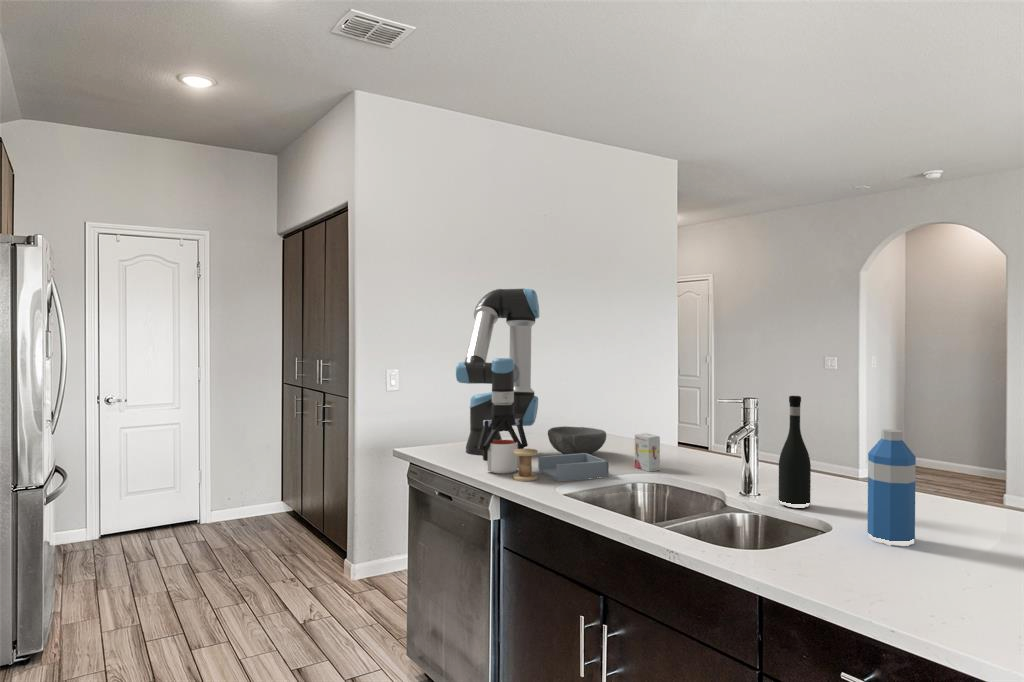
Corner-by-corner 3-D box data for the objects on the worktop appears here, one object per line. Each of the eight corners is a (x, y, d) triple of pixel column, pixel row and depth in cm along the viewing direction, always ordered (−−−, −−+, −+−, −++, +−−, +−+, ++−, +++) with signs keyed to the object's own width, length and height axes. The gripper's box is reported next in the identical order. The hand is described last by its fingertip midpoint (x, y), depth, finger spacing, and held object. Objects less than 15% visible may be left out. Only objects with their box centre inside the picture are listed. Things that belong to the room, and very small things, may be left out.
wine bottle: (786, 500, 185) (786, 394, 184) (815, 505, 179) (815, 396, 179) (773, 505, 179) (774, 395, 179) (803, 511, 174) (803, 398, 173)
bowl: (610, 460, 242) (610, 433, 242) (548, 460, 242) (548, 433, 242) (602, 449, 265) (602, 425, 265) (546, 449, 265) (546, 424, 265)
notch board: (538, 471, 223) (538, 456, 223) (585, 467, 229) (585, 453, 229) (558, 481, 208) (558, 465, 208) (608, 477, 214) (608, 461, 214)
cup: (518, 468, 228) (518, 439, 228) (516, 474, 218) (516, 444, 218) (490, 468, 229) (490, 439, 229) (486, 474, 219) (486, 444, 219)
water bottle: (914, 549, 143) (915, 435, 143) (865, 542, 148) (866, 431, 148) (915, 538, 151) (916, 429, 151) (868, 531, 156) (869, 426, 156)
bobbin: (509, 476, 215) (509, 449, 215) (531, 475, 218) (532, 447, 218) (518, 482, 207) (518, 453, 207) (541, 480, 210) (541, 452, 210)
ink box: (633, 467, 230) (633, 433, 230) (645, 466, 233) (645, 432, 232) (648, 472, 223) (648, 437, 222) (660, 470, 225) (660, 436, 225)
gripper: (474, 406, 216) (474, 473, 216) (537, 403, 224) (537, 468, 224) (467, 403, 223) (467, 469, 223) (529, 401, 231) (529, 464, 231)
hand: (502, 468), depth 224 cm, fingers closed on cup, 10 cm apart
